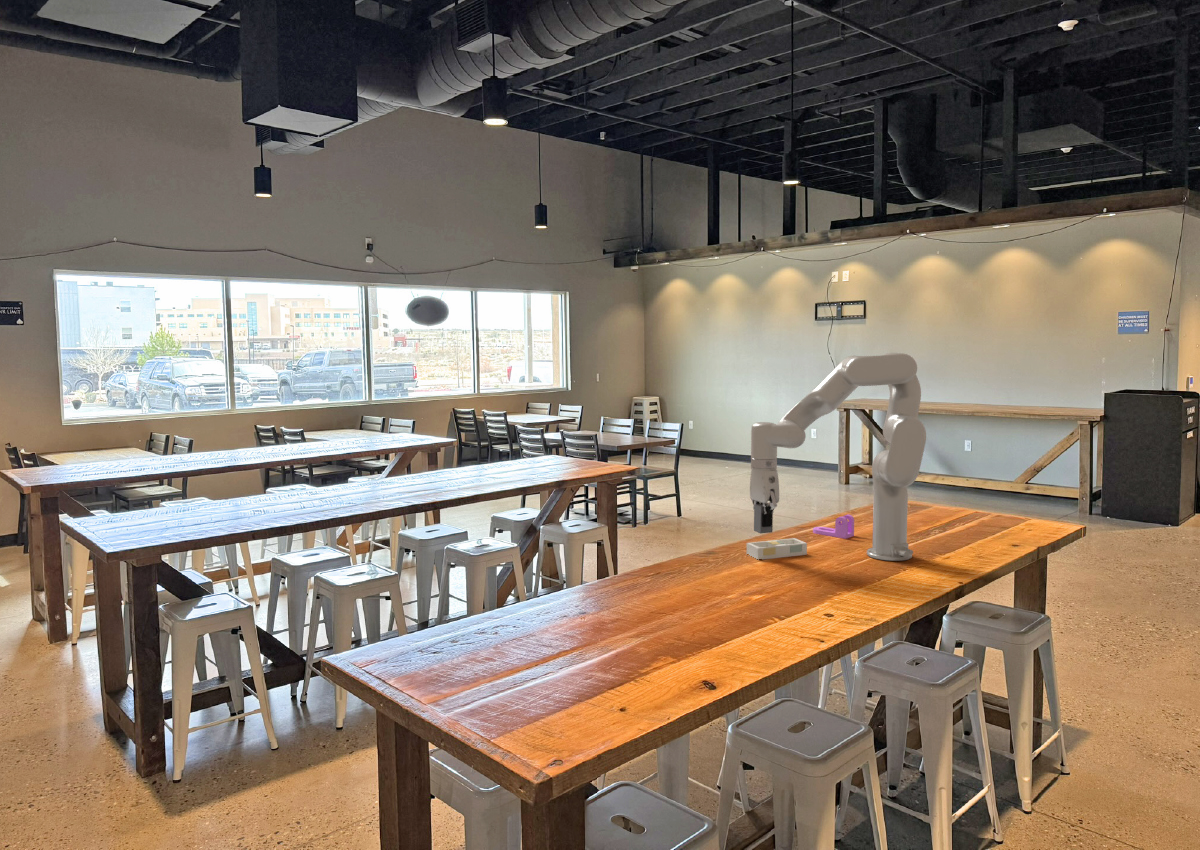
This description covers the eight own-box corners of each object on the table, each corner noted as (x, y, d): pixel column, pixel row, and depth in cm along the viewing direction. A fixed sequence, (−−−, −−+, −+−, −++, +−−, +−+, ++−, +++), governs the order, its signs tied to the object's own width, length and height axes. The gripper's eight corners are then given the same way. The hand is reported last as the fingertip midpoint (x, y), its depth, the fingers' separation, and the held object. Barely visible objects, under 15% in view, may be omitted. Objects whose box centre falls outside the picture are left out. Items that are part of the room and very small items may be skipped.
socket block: (807, 554, 244) (807, 542, 244) (758, 560, 239) (758, 547, 239) (794, 549, 251) (794, 537, 250) (746, 554, 246) (746, 542, 245)
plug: (772, 532, 242) (772, 505, 241) (760, 533, 240) (760, 506, 240) (765, 529, 245) (766, 503, 245) (753, 530, 244) (754, 504, 243)
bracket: (853, 536, 267) (854, 515, 266) (845, 539, 263) (845, 518, 262) (818, 530, 276) (818, 509, 275) (809, 533, 272) (810, 512, 271)
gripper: (790, 467, 234) (789, 530, 236) (760, 459, 250) (760, 518, 252) (766, 469, 232) (766, 532, 234) (739, 460, 248) (738, 520, 249)
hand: (763, 524), depth 243 cm, fingers closed on plug, 3 cm apart
